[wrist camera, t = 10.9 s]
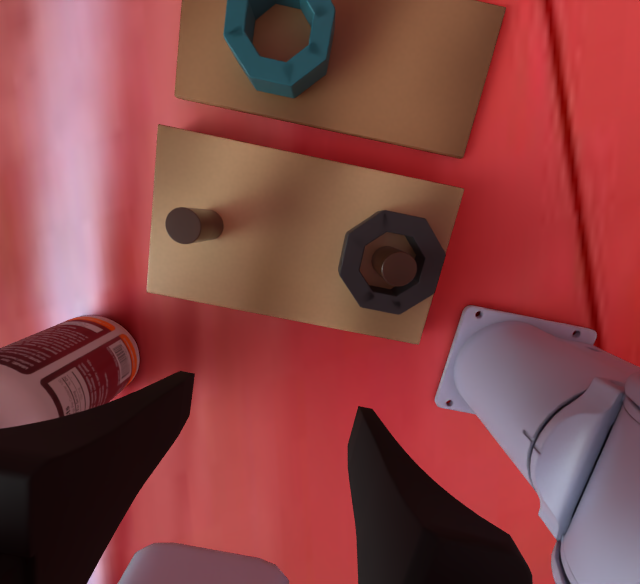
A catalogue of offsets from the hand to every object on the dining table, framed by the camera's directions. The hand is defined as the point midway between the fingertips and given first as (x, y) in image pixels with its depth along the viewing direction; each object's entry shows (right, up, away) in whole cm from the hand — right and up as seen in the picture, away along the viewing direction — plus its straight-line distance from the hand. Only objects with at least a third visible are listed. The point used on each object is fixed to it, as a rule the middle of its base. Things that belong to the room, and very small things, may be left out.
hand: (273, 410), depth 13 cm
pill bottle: (-14, +1, +10) cm, 17 cm away
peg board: (+1, +9, +8) cm, 11 cm away
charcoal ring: (+6, +7, +6) cm, 11 cm away
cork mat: (+3, +19, +5) cm, 20 cm away
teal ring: (0, +20, +5) cm, 20 cm away
